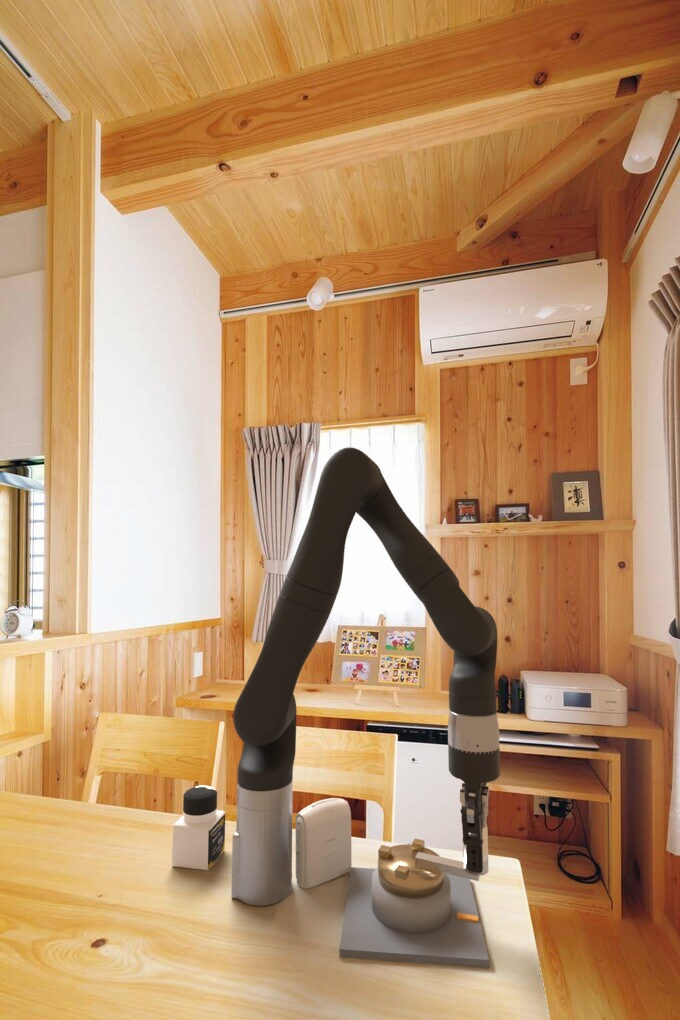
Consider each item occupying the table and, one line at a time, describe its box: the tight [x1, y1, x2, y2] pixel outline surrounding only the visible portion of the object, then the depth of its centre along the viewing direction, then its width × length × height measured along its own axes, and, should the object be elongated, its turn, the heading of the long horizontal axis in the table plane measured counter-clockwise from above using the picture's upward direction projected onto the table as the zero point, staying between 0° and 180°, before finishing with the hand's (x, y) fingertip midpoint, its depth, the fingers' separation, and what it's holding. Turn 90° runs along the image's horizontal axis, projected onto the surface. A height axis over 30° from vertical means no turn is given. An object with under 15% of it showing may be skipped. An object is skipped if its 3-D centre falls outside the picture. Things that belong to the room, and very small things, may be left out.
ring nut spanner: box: [377, 824, 490, 898], centre depth 82 cm, size 17×10×10 cm, turn 65°
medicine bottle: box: [171, 784, 226, 871], centre depth 99 cm, size 7×7×12 cm
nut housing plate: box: [339, 866, 490, 969], centre depth 83 cm, size 20×20×5 cm
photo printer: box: [295, 797, 352, 890], centre depth 93 cm, size 10×4×12 cm, turn 124°
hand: (476, 862), depth 79 cm, fingers closed on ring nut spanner, 3 cm apart
